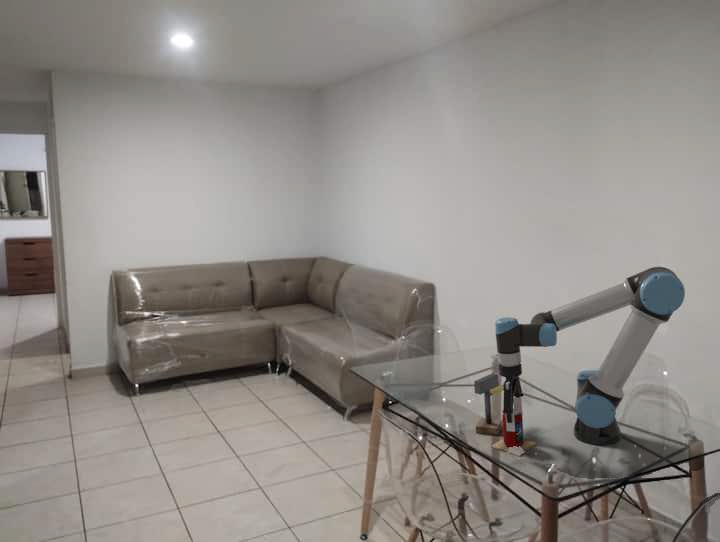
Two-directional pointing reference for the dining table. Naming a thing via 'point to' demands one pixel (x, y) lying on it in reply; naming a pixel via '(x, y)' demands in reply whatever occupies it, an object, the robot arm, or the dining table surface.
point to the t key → (488, 391)
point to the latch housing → (489, 426)
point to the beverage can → (517, 436)
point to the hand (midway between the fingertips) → (514, 422)
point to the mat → (505, 448)
